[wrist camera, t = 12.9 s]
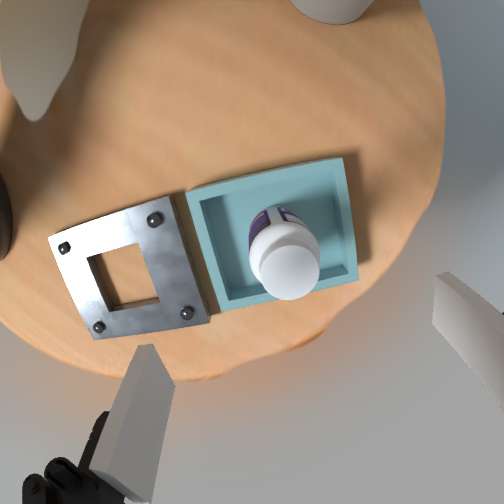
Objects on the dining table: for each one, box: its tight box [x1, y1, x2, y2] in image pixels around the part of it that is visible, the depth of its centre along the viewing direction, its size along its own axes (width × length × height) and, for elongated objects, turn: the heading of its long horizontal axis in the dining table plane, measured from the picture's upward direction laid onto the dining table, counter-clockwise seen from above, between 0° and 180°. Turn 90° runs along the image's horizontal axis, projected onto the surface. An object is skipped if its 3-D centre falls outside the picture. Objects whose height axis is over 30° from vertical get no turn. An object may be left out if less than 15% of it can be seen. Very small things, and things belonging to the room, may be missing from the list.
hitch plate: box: [48, 194, 211, 340], centre depth 29 cm, size 16×14×2 cm
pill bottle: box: [248, 206, 320, 300], centre depth 23 cm, size 5×5×10 cm
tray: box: [185, 157, 359, 311], centre depth 27 cm, size 14×12×3 cm
